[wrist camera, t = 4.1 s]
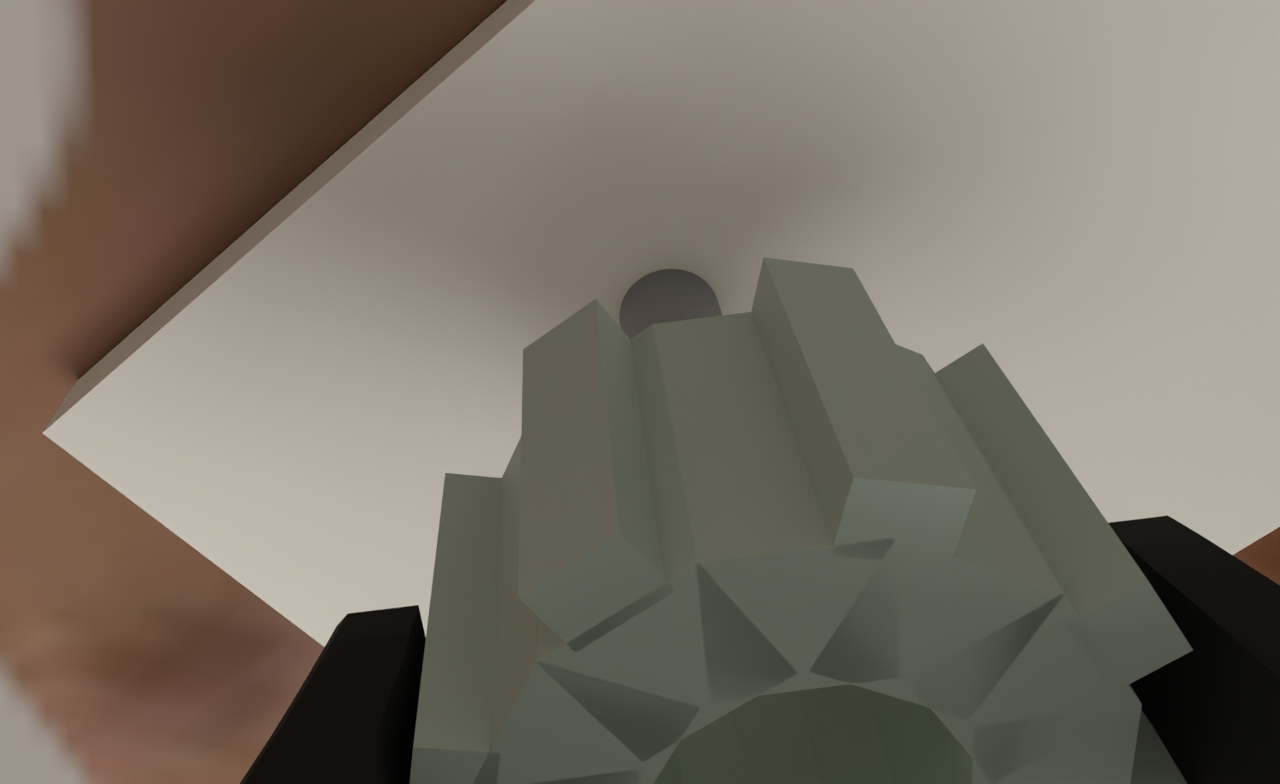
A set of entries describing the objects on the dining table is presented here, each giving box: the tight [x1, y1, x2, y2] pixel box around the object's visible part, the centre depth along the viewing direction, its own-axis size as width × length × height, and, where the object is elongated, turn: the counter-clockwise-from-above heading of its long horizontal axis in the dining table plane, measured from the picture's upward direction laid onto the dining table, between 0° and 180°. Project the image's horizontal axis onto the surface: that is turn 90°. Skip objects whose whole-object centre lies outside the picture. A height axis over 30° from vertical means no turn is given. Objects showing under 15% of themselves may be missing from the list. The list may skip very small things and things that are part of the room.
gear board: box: [43, 0, 1280, 647], centre depth 17 cm, size 14×17×6 cm
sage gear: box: [410, 257, 1193, 784], centre depth 10 cm, size 6×6×3 cm
